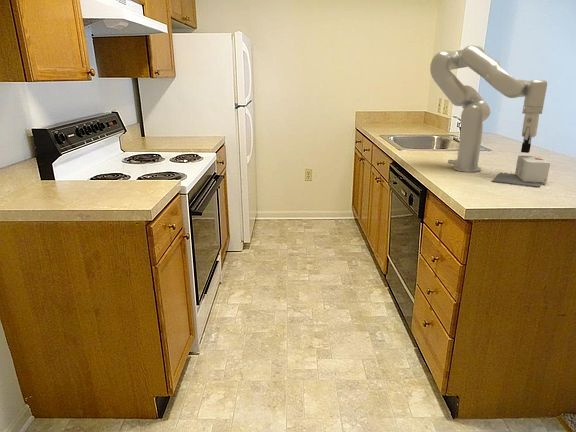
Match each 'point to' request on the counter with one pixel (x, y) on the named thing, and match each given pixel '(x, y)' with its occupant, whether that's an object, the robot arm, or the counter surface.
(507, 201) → the counter surface
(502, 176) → the mat
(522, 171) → the supplement box
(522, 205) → the counter surface
